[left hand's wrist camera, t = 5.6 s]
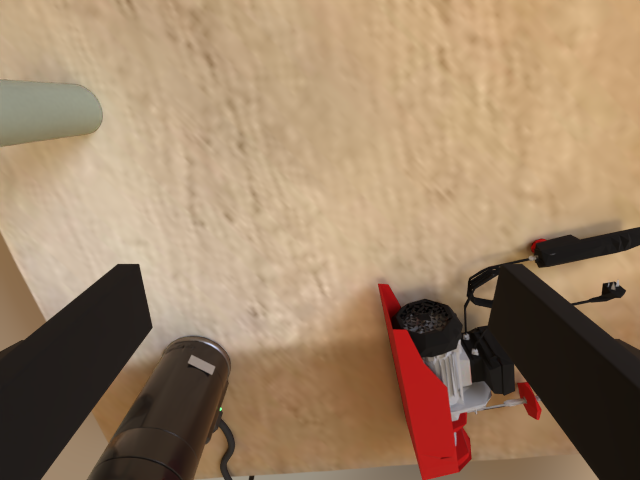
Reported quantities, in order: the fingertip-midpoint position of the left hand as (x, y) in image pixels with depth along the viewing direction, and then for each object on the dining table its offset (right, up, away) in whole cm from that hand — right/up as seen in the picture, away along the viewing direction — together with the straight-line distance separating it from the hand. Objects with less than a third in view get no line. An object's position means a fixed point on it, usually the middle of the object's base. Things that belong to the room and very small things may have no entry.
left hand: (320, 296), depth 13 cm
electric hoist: (+25, -11, +34) cm, 44 cm away
